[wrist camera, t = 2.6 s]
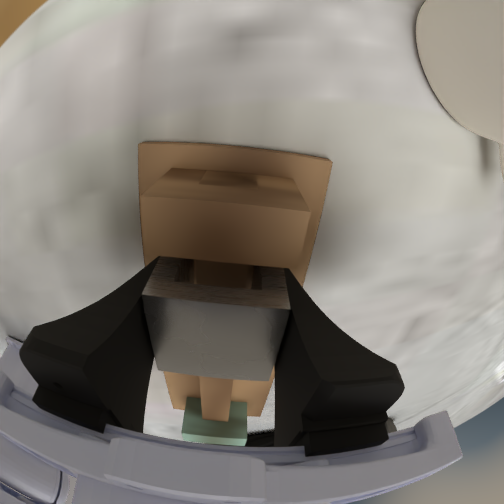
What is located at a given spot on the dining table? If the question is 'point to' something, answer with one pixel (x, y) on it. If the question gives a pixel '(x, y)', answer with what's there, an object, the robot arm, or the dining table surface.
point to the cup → (466, 62)
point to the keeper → (215, 322)
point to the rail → (227, 247)
